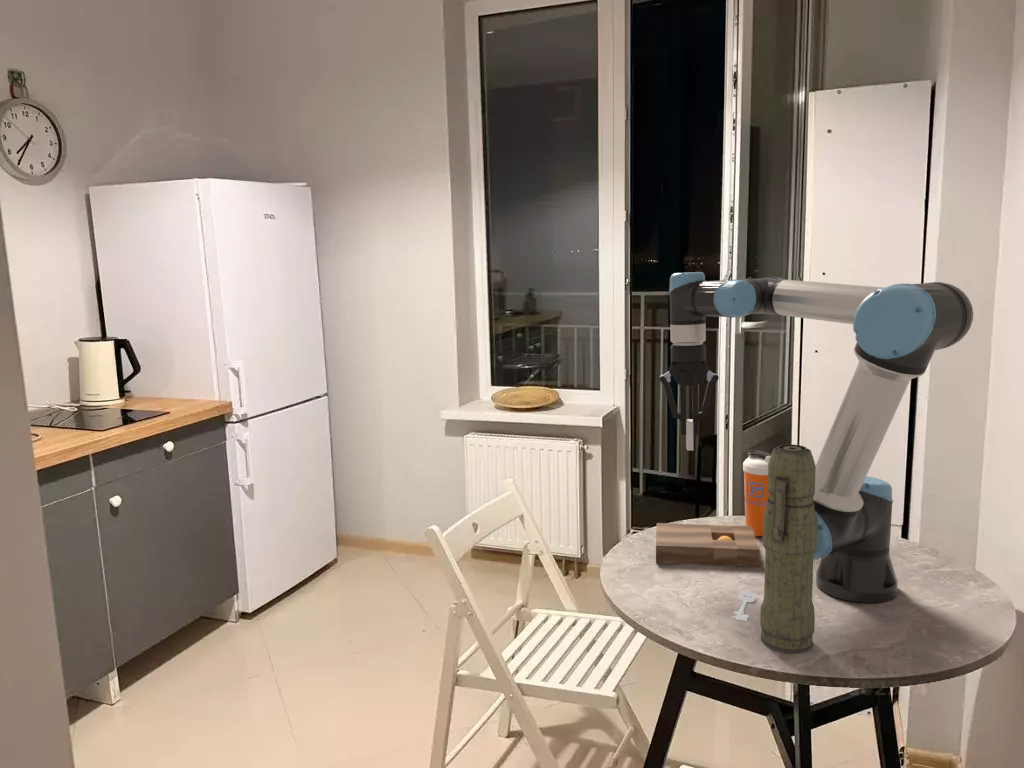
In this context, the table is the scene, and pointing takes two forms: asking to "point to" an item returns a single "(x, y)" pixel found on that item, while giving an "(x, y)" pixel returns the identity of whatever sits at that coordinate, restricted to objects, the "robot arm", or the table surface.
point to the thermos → (789, 551)
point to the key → (745, 599)
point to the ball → (725, 538)
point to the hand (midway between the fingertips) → (689, 449)
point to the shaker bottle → (756, 489)
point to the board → (706, 545)
